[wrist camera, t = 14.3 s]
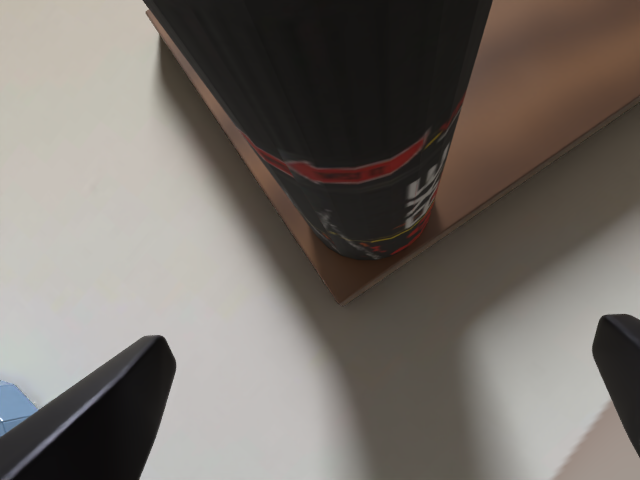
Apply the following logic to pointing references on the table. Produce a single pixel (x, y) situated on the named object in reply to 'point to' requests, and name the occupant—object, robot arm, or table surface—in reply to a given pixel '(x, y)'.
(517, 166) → the board
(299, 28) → the deodorant
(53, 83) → the table surface
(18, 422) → the bowl
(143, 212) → the table surface
